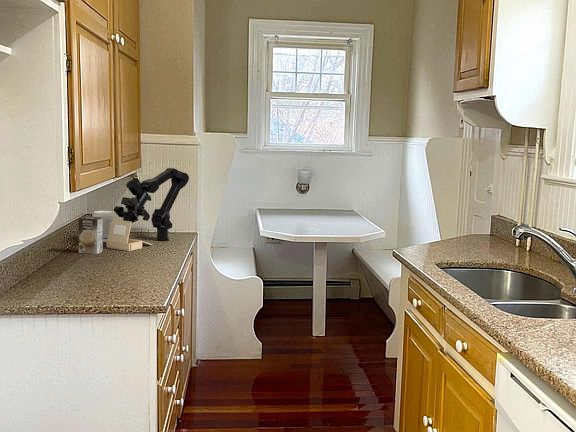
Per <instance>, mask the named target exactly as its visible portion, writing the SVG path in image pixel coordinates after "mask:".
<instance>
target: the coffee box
mask: <svg viewBox="0 0 576 432" xmlns="http://www.w3.org/2000/svg"><path fill="white" fill-rule="evenodd" d="M102 252H103V242H102V217H93V216H89V215H88V216H86V215H84V216H81V217H78V254H93V255H94V254H95V255H98V254H101V253H102Z"/></svg>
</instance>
